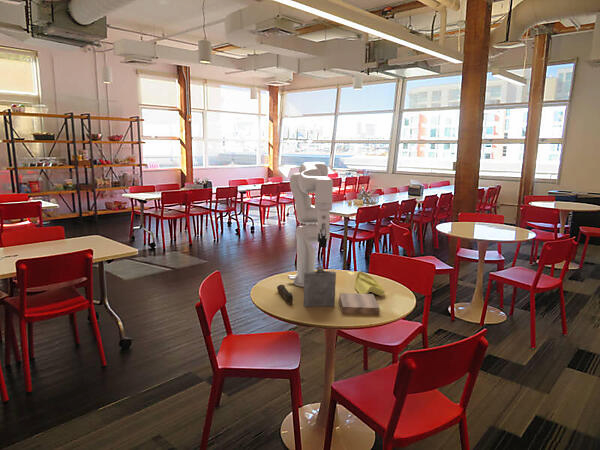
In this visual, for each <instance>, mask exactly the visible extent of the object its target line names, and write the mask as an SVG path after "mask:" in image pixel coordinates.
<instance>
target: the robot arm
mask: <svg viewBox="0 0 600 450" xmlns="http://www.w3.org/2000/svg"><path fill="white" fill-rule="evenodd" d="M298 171H299V172H296V173H295V172H294V173H293V174H291V175H290V177H289V188H290V191H291V194H292V196H293V198H294V203H295V211H296V212H295V213H296V218H297V221H298V223H300V224H301V225H299V226H297V227H296V229H295V237H296V246H297V247H296V256H297V257H296V274H294V275H292V274H288V275H287V279H289V280H291V281H293V284H294V285H295V286H297V287H302V288H304V273H305V272H313V271H316V249H315V247H313V246H312V244H314V243H315V244H316V243H317V244H318V247H319V248H325V249H326V248H327V243H328V242H329V241H330V236H331V234H330V233H331V231H330V230H331V229H330V227H331V226H330V225H331V223H330V222H331V221H330V218H331V213H330V211H333V190H334V181H333V179H332V178H330V177H329V176H328V174H329V169H328V165H327V164H326V163H325V162H321V161H307V162H303V163H301V164H300V165H299V168H298ZM310 194H314V205H313V204H312V198H311V196H310Z"/></svg>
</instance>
